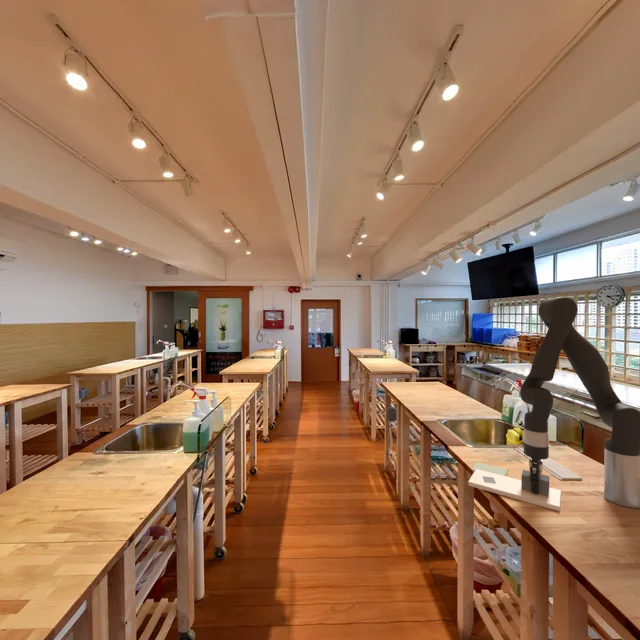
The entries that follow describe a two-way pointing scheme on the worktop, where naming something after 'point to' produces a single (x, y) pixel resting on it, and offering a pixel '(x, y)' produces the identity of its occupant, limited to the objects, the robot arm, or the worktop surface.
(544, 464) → the baseboard
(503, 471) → the rest mat
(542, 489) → the block
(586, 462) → the worktop surface
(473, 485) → the board
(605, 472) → the robot arm
